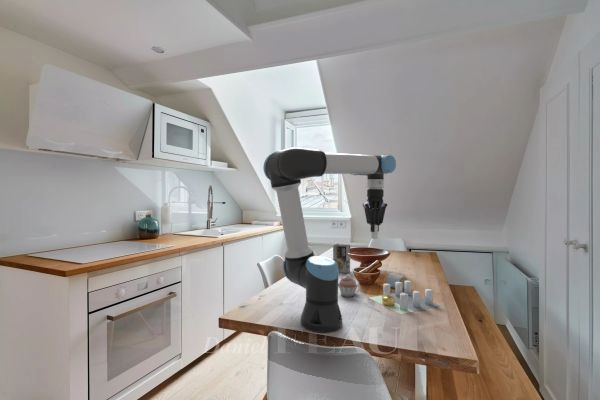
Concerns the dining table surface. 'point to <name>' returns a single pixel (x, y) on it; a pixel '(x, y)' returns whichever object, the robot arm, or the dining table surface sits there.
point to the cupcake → (347, 286)
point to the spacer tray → (407, 298)
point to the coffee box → (342, 257)
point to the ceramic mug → (395, 280)
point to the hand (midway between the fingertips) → (374, 238)
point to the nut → (388, 300)
